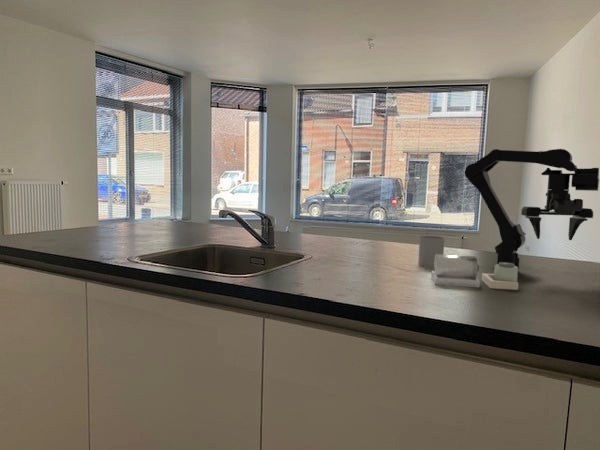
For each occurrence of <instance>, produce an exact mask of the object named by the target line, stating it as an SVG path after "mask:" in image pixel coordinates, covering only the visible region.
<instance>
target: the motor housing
mask: <svg viewBox="0 0 600 450" xmlns="http://www.w3.org/2000/svg"><path fill="white" fill-rule="evenodd" d="M479 271H480V266H479V264H478V259H477V256H475V255H459V254H458V255H456V254H444V255H439V254H436V255H435V260H434V267H433V270H431V280H432V282H433V283H434V285H436V286H451V287H466V288H480V283H481V282H480V281H481V280H480V278H478V277H477V275H478V273H479Z"/></svg>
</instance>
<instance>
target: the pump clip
mask: <svg viewBox="0 0 600 450" xmlns="http://www.w3.org/2000/svg"><path fill="white" fill-rule="evenodd" d="M481 281H482V282H483V283H484V284H485V285H486V286H487V287H488V288H489V289H497V290H512V291H513V290H514V291H516V290H517V291H519V282H518V281H517V282H511V281H494V273H482V274H481Z"/></svg>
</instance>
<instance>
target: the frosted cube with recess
mask: <svg viewBox="0 0 600 450" xmlns="http://www.w3.org/2000/svg"><path fill="white" fill-rule="evenodd" d="M494 267H495V269H494V268H493V269H494V271H493V274H494V281H511V282H518V273H519V272H518V271H519V270H518V267H517V266H514V264H513V263H507V262H499V264H496V265H495V264H494Z"/></svg>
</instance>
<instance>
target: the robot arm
mask: <svg viewBox="0 0 600 450" xmlns="http://www.w3.org/2000/svg"><path fill="white" fill-rule="evenodd" d="M500 162H508V163H510V162H511V163H527V164H539V165H543V166H547V168H546V169H545V170H544V171H542V172H541V173H540V174H541V176H548V178H547V179H548V180H547V190H546V191H547V192H545V197H546V202H545V203H546V205H544V208H541V207H539V206H523V207H522V208H521V216H525V219H528V220H529V222H530V223H531V226H532V229H533V232H534V234H535V237H536V239H538V240H540V238H541V221H542V217H540V216H541V215H543V216H544V215H545V216H546V215H548V216H571V217H569V221H568V222H569V223H568V224H569V225H568V241H572V239H573V238H574V236H575V234H576V232H577V230H578V229H579V227H580V226H581V224H583V223H584V222H586V221H588V220H589V219H593V218H594V211H593V209H592V208H587V207H584V199H582V198H574V199H571V193H570V183H571V188H575V191H586V192H587V191H591V192H593V191H597V192H598V191H599V188H600V187H599V185H600V168H599V167H591V168H590V167H589V168H578V166H577V165H575V163H574V162H573V156H572V154H571V152H570V151H569V150H566V149H565V148H555V149H554V148H553V149H548V150H547V149H546V150H541V151H540V150H539V151H529V150H527V151H526V150H509V149H508V150H507V149H497V148H496V149H492V150H491V151H490V152H489V153H487V154H486V155H484V156H483V157H481V158H480V159H478V160H477V161H476V162H474V163H469V164H468V165H467V166H466V168H465V169H464V176H465V177H466V179H467V180H468V181H469V182H470V183H471V185H473V187H474V188H476V190H478V192H479V194H480V196H481V197H482V199H483V201H484V203H485V205H486V206H487V208H488V210H489V212H490V213H491V215H492V217H493V219H494V221H495V222H496V225H497V226H498V230H499V236H500V239H501V241H500V243H498V244H497V245H495V247H494V249H495V256H494V257H495V258H494V266H492V267H493V268H492V269H495V265H496V264H499V262H507V263H513V264H514V266H517V267H518V273H519V269H520V257H519V253H517V252H518V250H519V248H521V247H523V246H524V245H525V244H526V232H525V231H524V230H523V229H522V225H521V224H520V223H517V224H515V223H514V222H513V221H512V220H511V219H510V217H509V215H508V213H507V212H506V210H505V208H504V207H503V206H504V205H503V204H502V202H501V201H500V199H499V198H498V196H497V193H496V192H495V191H494V190H495V189H494V188H493V187H492V184H491V180H490V179H491V178H490V176H489V171H491V170H492V169H493V168H494V167H495V166H497V164H499V163H500ZM550 167H552V168H557V169H551V168H550ZM562 169H564V170H566V171H568V172H571V173H568V172H567V173H563V170H562ZM573 172H574V173H573ZM570 178H571V179H570Z"/></svg>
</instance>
